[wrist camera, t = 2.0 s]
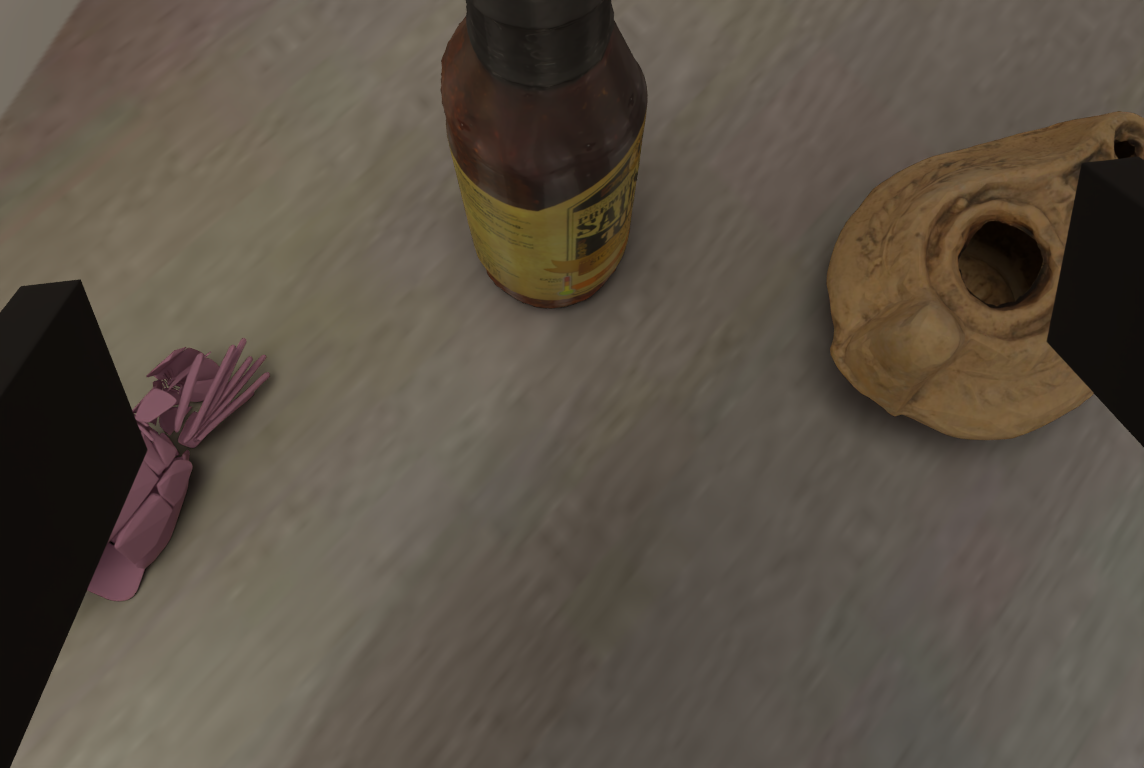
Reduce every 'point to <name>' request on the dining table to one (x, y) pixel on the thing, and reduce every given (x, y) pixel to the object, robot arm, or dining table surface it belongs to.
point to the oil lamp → (968, 280)
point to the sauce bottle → (545, 142)
